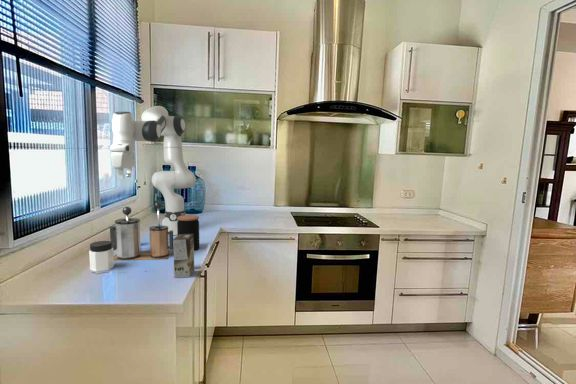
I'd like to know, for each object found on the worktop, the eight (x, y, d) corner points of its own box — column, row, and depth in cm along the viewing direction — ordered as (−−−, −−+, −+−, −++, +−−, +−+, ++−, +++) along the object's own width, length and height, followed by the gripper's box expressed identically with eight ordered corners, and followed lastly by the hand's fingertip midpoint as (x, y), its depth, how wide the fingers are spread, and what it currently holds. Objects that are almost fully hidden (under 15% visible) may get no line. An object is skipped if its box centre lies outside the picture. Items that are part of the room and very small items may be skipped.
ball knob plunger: (154, 236, 159) (153, 200, 157) (166, 236, 160) (165, 200, 157) (151, 239, 153) (150, 202, 151) (164, 239, 154) (163, 202, 152)
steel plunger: (123, 249, 158) (121, 205, 155) (139, 249, 159) (137, 205, 156) (117, 254, 151) (115, 208, 148) (134, 253, 152) (132, 208, 149)
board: (119, 254, 162) (119, 251, 162) (173, 252, 166) (173, 250, 166) (108, 263, 148) (108, 260, 148) (168, 261, 152) (167, 259, 152)
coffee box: (189, 277, 134) (189, 239, 132) (173, 277, 133) (172, 239, 131) (194, 269, 143) (193, 233, 141) (179, 269, 142) (178, 233, 140)
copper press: (153, 253, 161) (152, 225, 159) (174, 252, 162) (174, 225, 160) (148, 258, 153) (147, 229, 151) (171, 257, 154) (170, 229, 153)
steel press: (116, 253, 159) (114, 218, 157) (143, 252, 161) (141, 217, 159) (108, 260, 149) (106, 222, 147) (136, 259, 151) (135, 222, 149)
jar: (99, 266, 144) (97, 240, 143) (117, 267, 144) (116, 240, 143) (86, 274, 135) (84, 246, 134) (106, 274, 135) (104, 246, 134)
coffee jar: (191, 246, 176) (191, 214, 174) (203, 250, 170) (203, 216, 168) (173, 251, 168) (172, 216, 166) (185, 255, 162) (184, 219, 159)
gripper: (124, 147, 159) (125, 176, 160) (108, 147, 139) (109, 179, 140) (138, 147, 160) (139, 176, 161) (123, 147, 140) (125, 179, 141)
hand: (125, 177), depth 151 cm, fingers open, 8 cm apart
